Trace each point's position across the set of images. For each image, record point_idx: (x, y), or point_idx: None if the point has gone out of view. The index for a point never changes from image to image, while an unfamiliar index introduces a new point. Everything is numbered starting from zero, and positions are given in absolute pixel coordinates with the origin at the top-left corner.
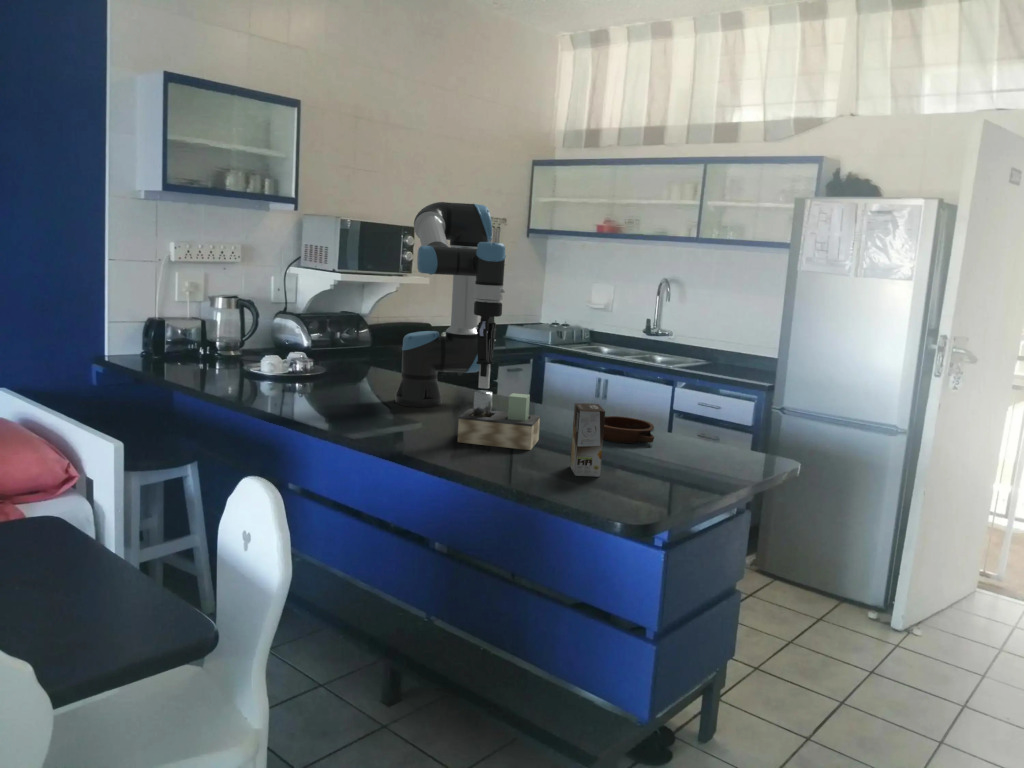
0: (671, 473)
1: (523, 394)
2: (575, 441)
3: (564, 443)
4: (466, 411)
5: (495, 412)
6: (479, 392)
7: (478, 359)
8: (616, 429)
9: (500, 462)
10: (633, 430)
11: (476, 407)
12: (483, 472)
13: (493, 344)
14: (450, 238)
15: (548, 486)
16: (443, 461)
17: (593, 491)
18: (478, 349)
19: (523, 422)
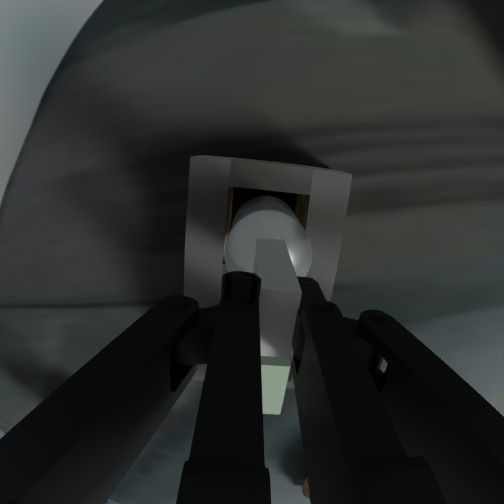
0: (159, 488)
1: (277, 398)
2: None
3: (286, 395)
4: (292, 167)
5: (312, 269)
6: (246, 240)
7: (155, 312)
8: (306, 477)
9: (73, 285)
10: (303, 491)
11: (235, 217)
12: (11, 261)
13: (409, 454)
14: None
15: (11, 356)
16: (35, 171)
17: (29, 403)
18: (95, 363)
19: None
